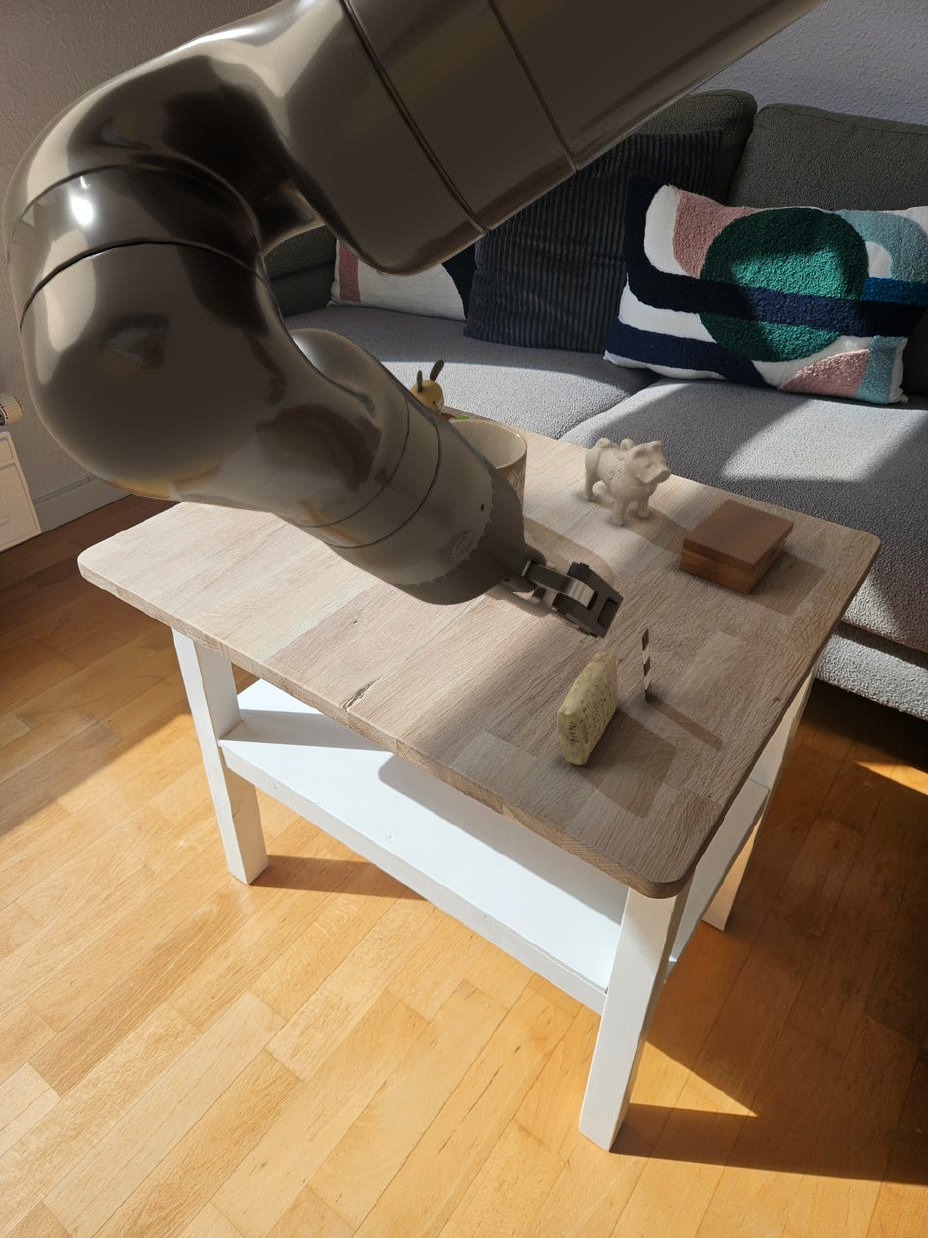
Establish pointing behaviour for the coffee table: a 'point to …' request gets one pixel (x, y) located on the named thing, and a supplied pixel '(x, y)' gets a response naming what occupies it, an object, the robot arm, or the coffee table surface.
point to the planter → (499, 449)
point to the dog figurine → (626, 473)
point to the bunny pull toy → (432, 391)
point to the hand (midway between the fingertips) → (533, 592)
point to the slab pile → (735, 545)
